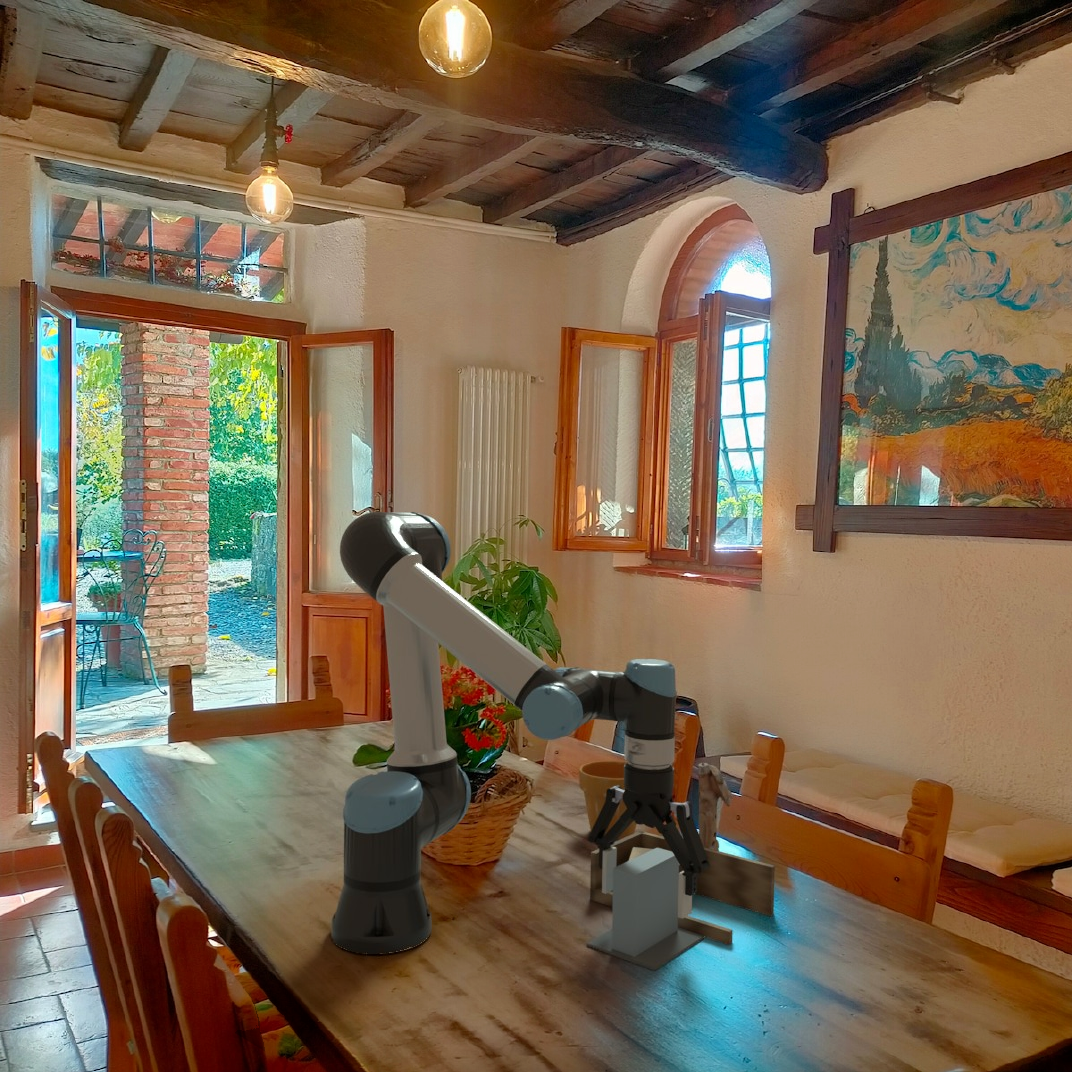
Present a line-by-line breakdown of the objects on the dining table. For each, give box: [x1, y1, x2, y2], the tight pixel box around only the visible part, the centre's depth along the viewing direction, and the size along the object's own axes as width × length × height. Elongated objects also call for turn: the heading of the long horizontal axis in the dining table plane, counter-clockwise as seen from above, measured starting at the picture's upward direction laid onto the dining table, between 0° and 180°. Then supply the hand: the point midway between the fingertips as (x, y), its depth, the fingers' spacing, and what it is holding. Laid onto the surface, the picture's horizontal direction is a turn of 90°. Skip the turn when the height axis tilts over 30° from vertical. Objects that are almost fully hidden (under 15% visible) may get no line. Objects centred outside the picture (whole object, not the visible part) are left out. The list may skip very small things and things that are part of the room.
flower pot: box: [578, 760, 637, 840], centre depth 197 cm, size 14×14×13 cm
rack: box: [589, 830, 776, 946], centre depth 160 cm, size 26×15×8 cm, turn 50°
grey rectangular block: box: [611, 848, 679, 957], centre depth 146 cm, size 4×12×12 cm, turn 141°
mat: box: [586, 927, 705, 971], centre depth 147 cm, size 12×14×1 cm
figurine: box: [697, 762, 734, 851], centre depth 176 cm, size 10×8×20 cm
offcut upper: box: [629, 847, 653, 861], centre depth 165 cm, size 5×8×4 cm, turn 168°
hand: (645, 902), depth 147 cm, fingers open, 13 cm apart
